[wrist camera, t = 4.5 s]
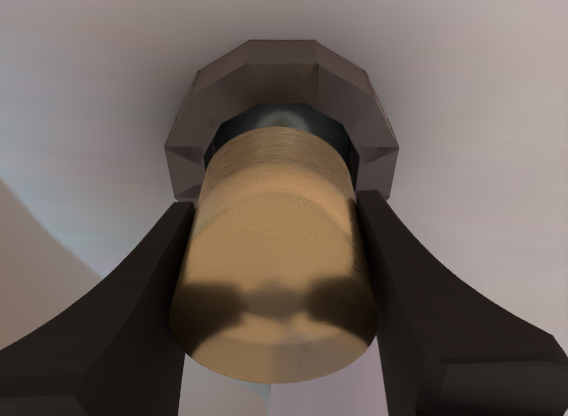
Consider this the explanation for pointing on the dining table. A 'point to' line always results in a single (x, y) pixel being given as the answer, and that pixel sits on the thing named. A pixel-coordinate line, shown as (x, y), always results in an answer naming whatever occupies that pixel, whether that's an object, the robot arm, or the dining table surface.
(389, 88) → the dining table surface
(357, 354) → the gold metal cylinder
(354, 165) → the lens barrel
